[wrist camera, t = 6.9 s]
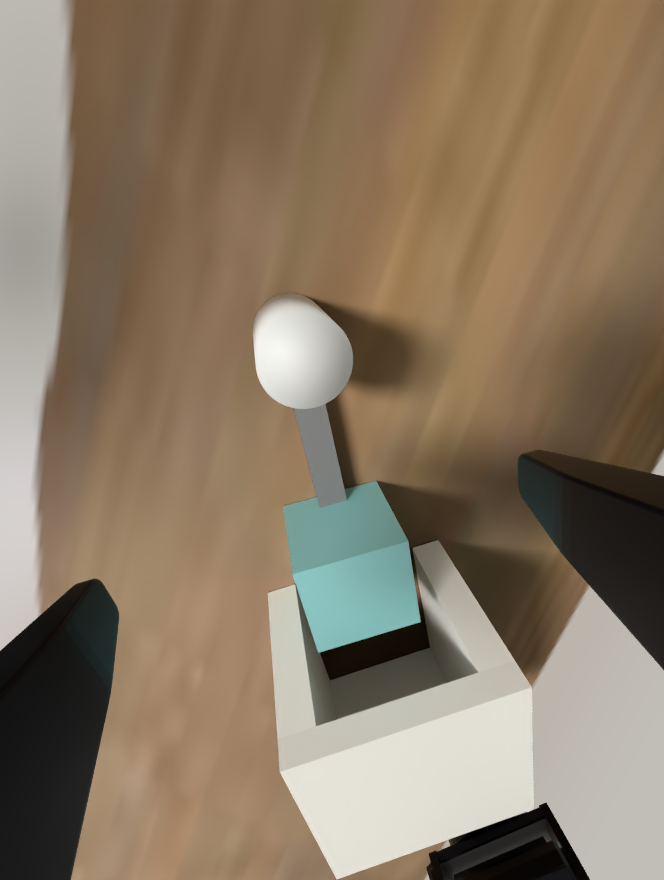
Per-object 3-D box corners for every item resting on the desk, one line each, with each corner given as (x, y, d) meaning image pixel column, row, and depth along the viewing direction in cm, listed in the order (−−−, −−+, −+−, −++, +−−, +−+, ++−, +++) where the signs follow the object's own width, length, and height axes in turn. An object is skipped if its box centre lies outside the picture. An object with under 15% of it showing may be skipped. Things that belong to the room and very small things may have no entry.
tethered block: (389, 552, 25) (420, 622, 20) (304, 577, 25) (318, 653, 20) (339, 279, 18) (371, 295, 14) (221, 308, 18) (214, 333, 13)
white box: (454, 655, 30) (533, 813, 22) (312, 702, 29) (338, 883, 21) (438, 539, 25) (531, 687, 17) (267, 592, 25) (279, 772, 16)
